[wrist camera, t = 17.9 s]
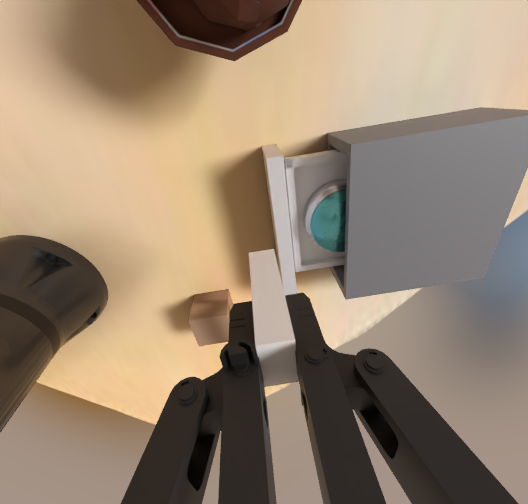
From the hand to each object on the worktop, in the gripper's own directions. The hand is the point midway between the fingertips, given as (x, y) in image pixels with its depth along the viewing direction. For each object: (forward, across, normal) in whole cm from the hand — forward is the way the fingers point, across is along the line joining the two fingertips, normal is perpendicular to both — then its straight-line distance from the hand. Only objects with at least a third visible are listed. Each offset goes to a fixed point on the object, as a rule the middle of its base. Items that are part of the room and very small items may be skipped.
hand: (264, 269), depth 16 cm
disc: (+14, +9, -4) cm, 17 cm away
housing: (+16, +17, -4) cm, 23 cm away
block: (+16, -8, -17) cm, 25 cm away
